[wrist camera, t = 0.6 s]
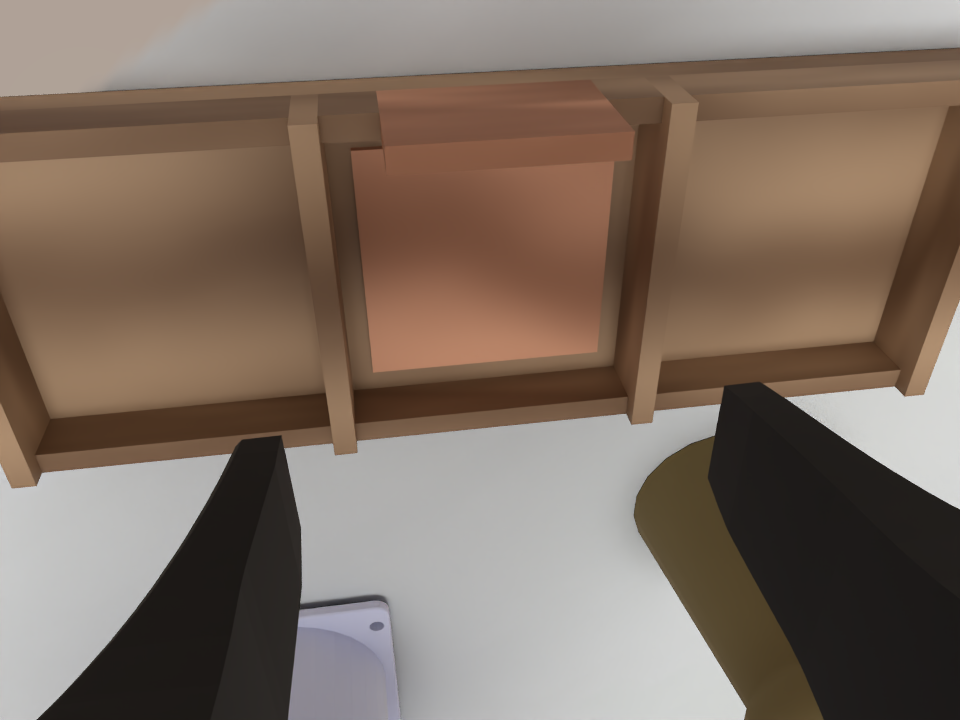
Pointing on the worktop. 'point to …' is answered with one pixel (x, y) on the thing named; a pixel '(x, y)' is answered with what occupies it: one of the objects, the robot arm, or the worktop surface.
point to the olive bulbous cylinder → (720, 587)
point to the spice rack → (466, 250)
